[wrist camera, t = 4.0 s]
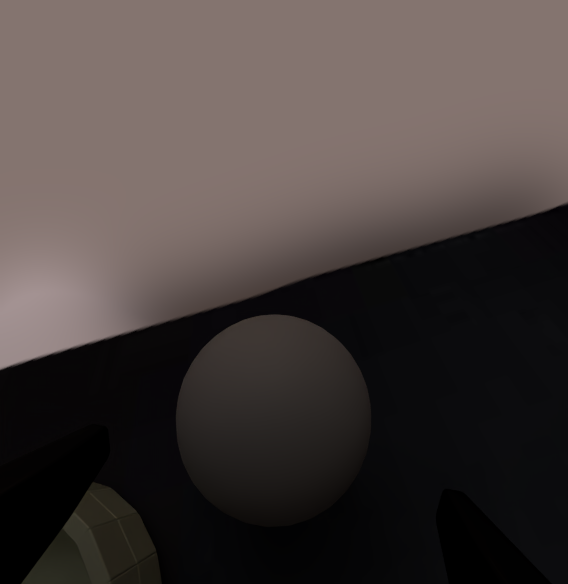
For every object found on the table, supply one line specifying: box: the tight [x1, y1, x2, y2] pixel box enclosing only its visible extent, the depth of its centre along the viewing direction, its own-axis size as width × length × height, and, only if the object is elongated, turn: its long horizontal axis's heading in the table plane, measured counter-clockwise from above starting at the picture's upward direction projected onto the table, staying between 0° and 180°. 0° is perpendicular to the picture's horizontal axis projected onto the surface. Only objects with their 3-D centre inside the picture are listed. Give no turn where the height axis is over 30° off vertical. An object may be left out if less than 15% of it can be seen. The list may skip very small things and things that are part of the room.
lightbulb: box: [176, 315, 371, 527], centre depth 12 cm, size 6×6×11 cm
